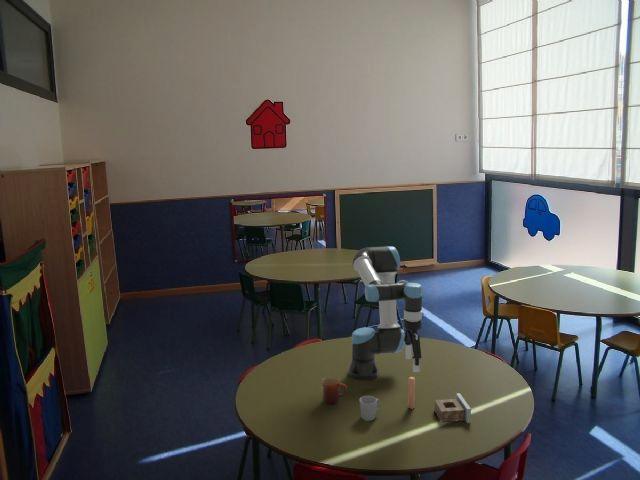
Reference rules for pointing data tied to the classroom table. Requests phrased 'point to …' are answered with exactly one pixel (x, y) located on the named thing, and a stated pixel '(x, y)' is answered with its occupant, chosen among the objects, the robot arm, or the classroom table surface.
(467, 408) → the base
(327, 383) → the mug
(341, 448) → the classroom table surface
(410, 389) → the dowel
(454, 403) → the block
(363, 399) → the cup
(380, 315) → the robot arm
